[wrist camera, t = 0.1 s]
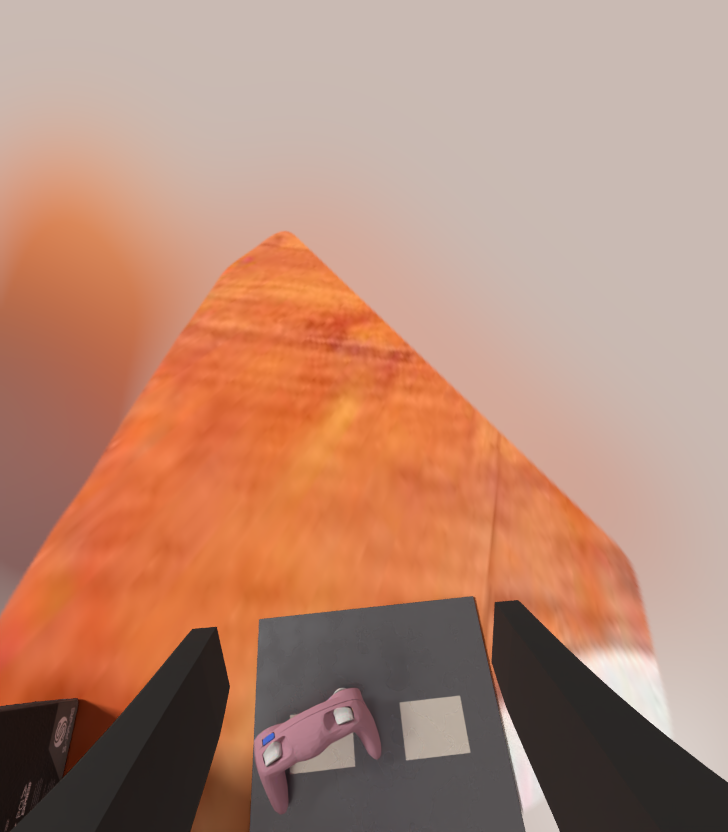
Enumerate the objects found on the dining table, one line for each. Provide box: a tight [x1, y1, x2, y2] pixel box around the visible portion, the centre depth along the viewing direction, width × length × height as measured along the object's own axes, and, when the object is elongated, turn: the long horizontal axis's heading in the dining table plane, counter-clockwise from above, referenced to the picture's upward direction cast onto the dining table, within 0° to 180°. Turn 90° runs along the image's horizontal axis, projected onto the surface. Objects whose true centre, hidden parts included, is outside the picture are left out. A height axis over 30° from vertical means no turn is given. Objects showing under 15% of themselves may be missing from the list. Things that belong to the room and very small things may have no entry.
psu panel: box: [250, 596, 525, 832], centre depth 33 cm, size 20×22×1 cm
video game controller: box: [254, 688, 381, 815], centre depth 31 cm, size 10×5×7 cm, turn 114°
